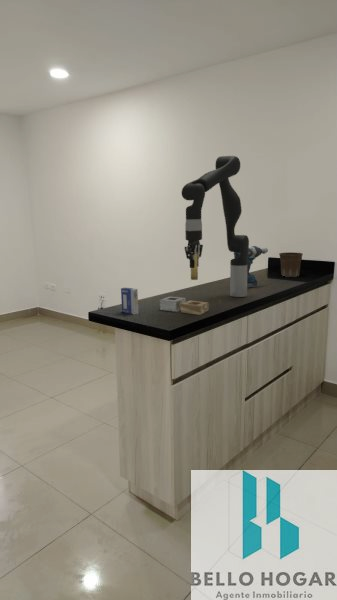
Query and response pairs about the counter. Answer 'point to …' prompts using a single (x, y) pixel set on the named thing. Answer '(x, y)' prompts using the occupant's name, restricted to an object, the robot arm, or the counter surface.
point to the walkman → (129, 300)
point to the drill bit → (195, 269)
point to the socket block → (171, 303)
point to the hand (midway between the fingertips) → (194, 267)
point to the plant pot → (290, 264)
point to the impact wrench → (252, 255)
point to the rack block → (195, 307)
